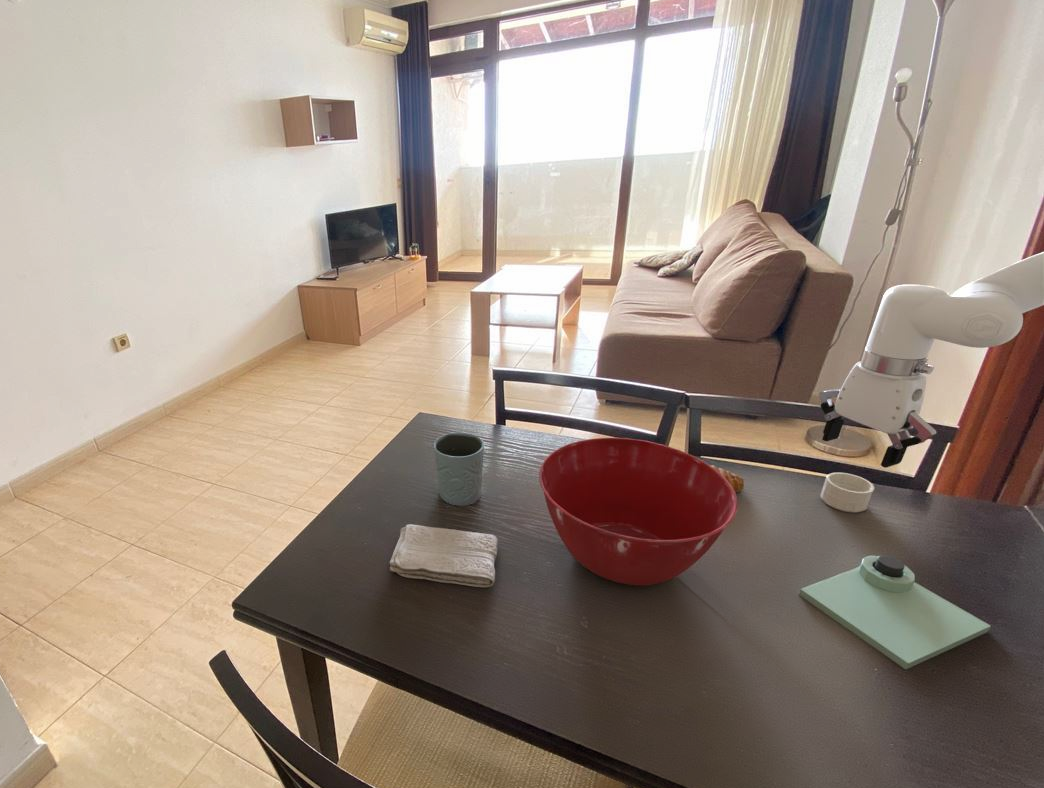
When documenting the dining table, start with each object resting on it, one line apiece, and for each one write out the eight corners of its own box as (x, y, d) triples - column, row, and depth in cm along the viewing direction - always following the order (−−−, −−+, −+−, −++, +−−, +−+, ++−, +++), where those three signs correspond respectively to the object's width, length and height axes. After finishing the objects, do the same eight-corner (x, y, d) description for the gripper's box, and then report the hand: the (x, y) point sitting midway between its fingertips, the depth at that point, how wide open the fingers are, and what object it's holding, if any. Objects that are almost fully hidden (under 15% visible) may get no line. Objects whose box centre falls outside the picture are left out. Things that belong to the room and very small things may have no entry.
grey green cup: (454, 514, 106) (453, 462, 101) (425, 490, 114) (423, 441, 109) (494, 496, 110) (495, 445, 105) (463, 475, 118) (462, 427, 113)
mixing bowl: (741, 637, 76) (765, 551, 69) (531, 604, 84) (535, 524, 77) (696, 515, 100) (712, 443, 93) (537, 499, 108) (541, 432, 102)
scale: (874, 566, 86) (880, 551, 84) (987, 632, 73) (996, 616, 72) (798, 594, 82) (803, 579, 80) (905, 669, 69) (913, 653, 68)
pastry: (738, 479, 109) (742, 463, 107) (745, 499, 103) (750, 482, 101) (686, 473, 112) (689, 458, 110) (690, 492, 106) (693, 475, 105)
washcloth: (402, 532, 102) (401, 519, 101) (499, 543, 97) (499, 529, 96) (387, 577, 92) (386, 563, 90) (494, 591, 87) (494, 576, 86)
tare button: (883, 561, 83) (887, 552, 82) (905, 574, 80) (909, 565, 79) (869, 567, 82) (872, 558, 81) (891, 580, 79) (895, 571, 79)
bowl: (837, 489, 104) (843, 469, 102) (875, 508, 98) (883, 487, 96) (811, 497, 102) (817, 477, 100) (848, 517, 96) (856, 496, 94)
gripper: (973, 376, 81) (930, 471, 89) (851, 342, 96) (823, 426, 104) (940, 385, 79) (898, 482, 87) (820, 349, 94) (794, 434, 102)
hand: (858, 451), depth 95 cm, fingers open, 9 cm apart
